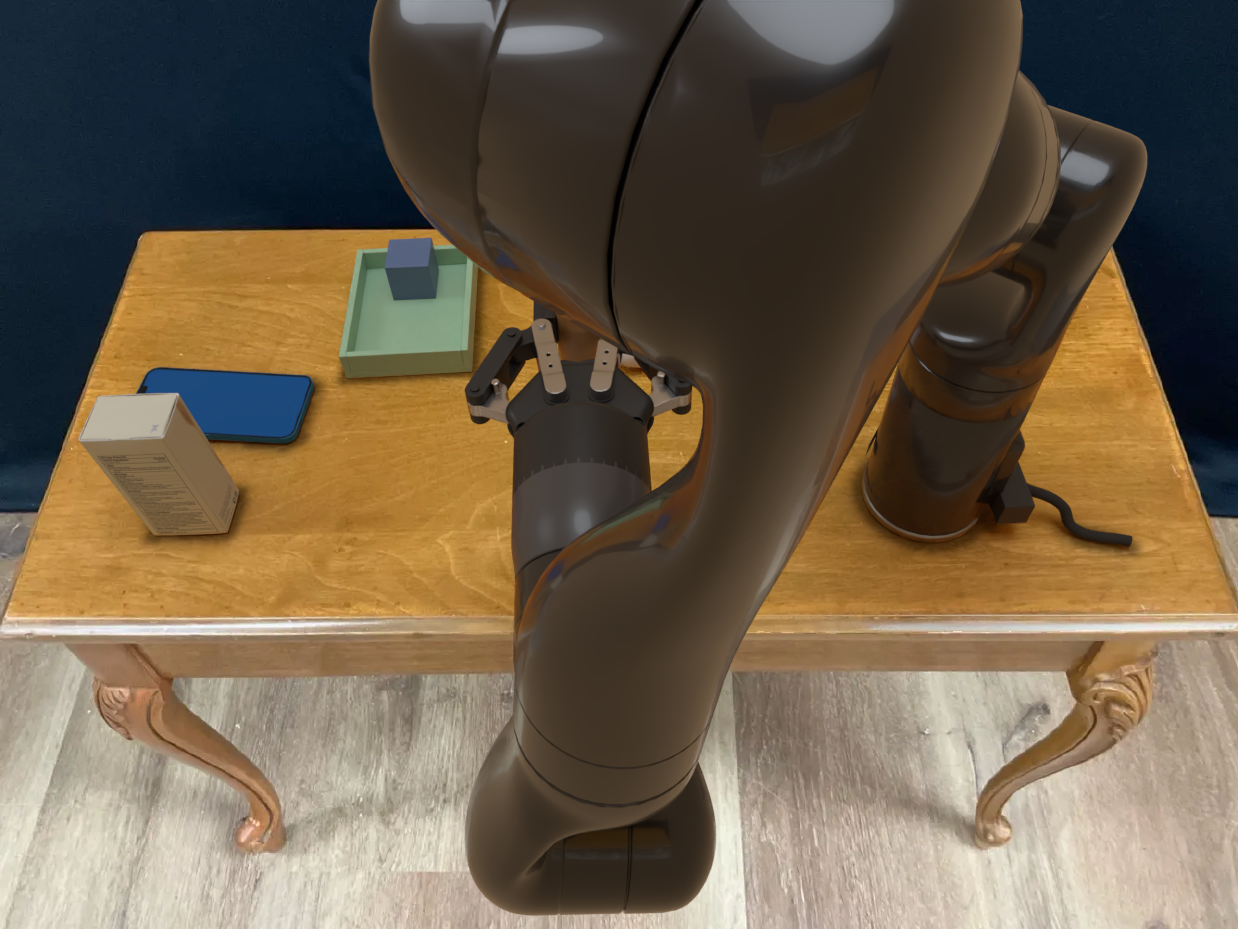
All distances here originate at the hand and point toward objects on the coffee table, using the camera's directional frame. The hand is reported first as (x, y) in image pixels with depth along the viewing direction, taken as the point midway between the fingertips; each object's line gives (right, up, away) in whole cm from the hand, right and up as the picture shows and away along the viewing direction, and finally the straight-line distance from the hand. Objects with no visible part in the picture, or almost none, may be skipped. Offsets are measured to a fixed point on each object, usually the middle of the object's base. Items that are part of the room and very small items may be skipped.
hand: (577, 290), depth 62 cm
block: (-17, +6, +30) cm, 35 cm away
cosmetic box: (-31, -15, +16) cm, 38 cm away
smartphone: (-32, -6, +22) cm, 39 cm away
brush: (+1, -11, +8) cm, 13 cm away
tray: (-16, +2, +29) cm, 33 cm away
